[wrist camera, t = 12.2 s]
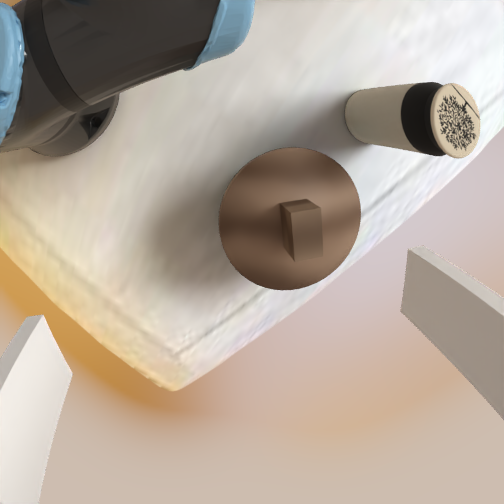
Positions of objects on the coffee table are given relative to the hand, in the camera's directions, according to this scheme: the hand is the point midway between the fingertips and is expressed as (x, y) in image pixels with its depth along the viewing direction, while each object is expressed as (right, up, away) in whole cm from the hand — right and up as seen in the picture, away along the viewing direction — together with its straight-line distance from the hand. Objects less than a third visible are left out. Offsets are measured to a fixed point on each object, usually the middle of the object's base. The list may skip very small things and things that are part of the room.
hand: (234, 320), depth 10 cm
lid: (+5, +6, +25) cm, 26 cm away
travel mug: (+17, +21, +30) cm, 40 cm away
